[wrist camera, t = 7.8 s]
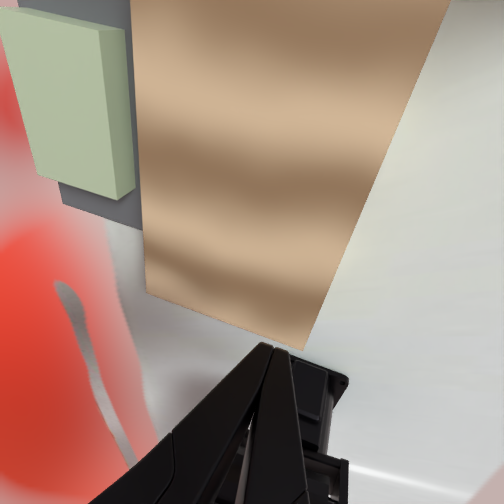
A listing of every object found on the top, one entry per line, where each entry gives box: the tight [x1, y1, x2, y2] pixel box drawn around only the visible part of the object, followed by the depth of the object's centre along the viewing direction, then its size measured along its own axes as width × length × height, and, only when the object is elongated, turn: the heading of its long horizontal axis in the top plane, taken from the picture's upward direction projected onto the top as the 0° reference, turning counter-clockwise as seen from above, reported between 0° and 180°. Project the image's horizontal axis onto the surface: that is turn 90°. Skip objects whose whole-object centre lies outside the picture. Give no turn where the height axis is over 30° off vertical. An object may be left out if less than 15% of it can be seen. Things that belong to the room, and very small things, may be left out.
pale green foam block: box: [0, 7, 136, 200], centre depth 19 cm, size 9×6×2 cm, turn 171°
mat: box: [18, 0, 143, 231], centre depth 21 cm, size 14×9×1 cm, turn 170°
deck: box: [130, 0, 451, 351], centre depth 17 cm, size 20×11×4 cm, turn 170°
